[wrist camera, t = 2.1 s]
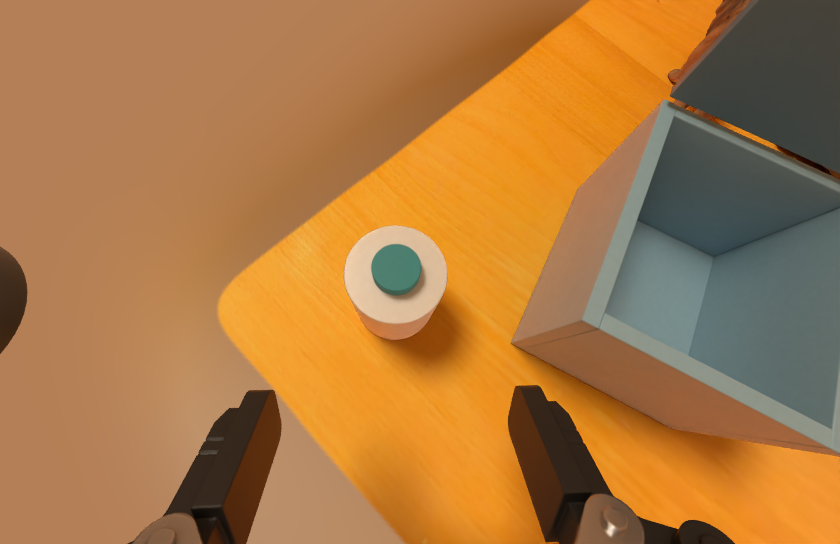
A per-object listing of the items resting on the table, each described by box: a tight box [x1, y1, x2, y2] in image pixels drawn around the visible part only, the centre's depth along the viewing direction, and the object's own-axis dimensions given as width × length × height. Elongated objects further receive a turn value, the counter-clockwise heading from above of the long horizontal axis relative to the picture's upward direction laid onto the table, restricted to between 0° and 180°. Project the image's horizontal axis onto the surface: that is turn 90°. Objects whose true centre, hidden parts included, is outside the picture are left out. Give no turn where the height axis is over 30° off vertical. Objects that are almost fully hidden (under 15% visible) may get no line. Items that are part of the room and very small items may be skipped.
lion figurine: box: [668, 0, 751, 120], centre depth 27 cm, size 15×5×9 cm, turn 160°
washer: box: [511, 99, 840, 457], centre depth 21 cm, size 14×12×9 cm
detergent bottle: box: [344, 226, 447, 340], centre depth 20 cm, size 5×5×8 cm
